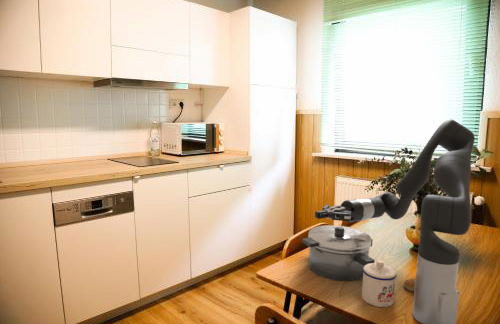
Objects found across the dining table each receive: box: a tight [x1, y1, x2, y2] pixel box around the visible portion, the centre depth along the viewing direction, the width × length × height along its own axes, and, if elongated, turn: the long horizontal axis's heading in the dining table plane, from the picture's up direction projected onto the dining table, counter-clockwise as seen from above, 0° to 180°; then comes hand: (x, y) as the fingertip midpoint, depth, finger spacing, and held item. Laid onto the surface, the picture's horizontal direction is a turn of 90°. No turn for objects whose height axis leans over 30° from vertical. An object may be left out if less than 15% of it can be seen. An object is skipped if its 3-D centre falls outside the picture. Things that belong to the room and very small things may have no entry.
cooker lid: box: [301, 224, 372, 252], centre depth 116 cm, size 21×24×4 cm
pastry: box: [403, 278, 416, 293], centre depth 104 cm, size 9×7×4 cm
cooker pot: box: [308, 228, 376, 282], centre depth 118 cm, size 31×23×10 cm
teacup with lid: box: [361, 260, 397, 308], centre depth 98 cm, size 12×9×12 cm
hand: (316, 215), depth 112 cm, fingers closed
